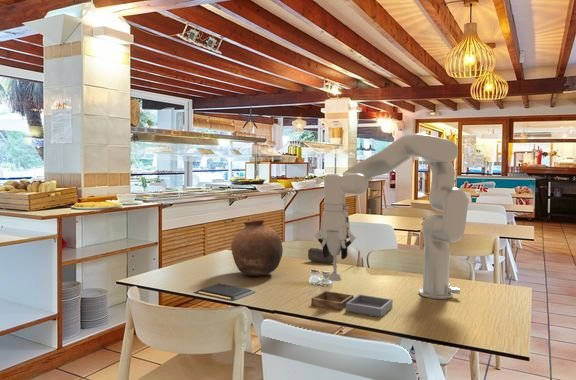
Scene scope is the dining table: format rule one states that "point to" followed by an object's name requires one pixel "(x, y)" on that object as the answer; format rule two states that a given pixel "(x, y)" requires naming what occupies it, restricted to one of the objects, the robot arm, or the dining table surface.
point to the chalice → (334, 253)
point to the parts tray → (369, 305)
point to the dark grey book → (225, 292)
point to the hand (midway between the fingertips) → (335, 257)
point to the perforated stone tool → (319, 256)
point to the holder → (331, 304)
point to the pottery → (256, 249)
